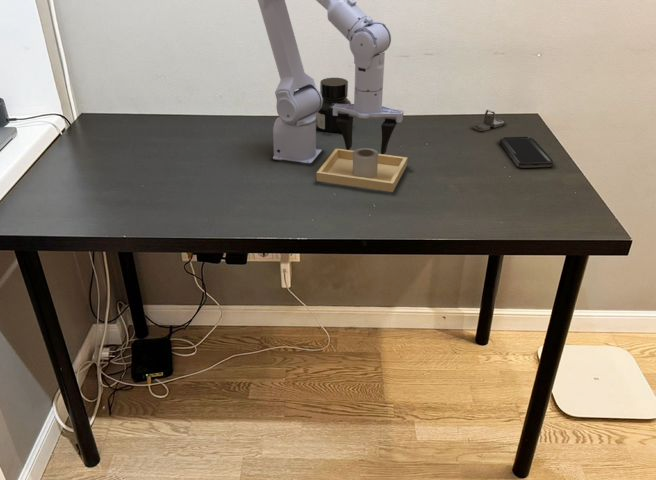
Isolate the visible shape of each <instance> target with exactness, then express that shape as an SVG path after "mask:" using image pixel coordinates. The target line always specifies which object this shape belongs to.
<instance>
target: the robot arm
mask: <svg viewBox="0 0 656 480" xmlns="http://www.w3.org/2000/svg"><path fill="white" fill-rule="evenodd" d="M315 1H316V2H317V3H318V4H319V5H321V6H322V7H323V8H324V9H325V10H326V11H327V16H326V17H327V20H328V21H329V22H330V23H331V24H332V25H333V27H334V28H336V30H337V31H338V32H339V33H340V34H342V36H343V37H344V38H345V39H346V40H347V41H348V42H349V43H348V45H349V50H350V51H351V54H352V55H353V64H354V88H353V89H354V91H353V92H354V94H353V95H354V96H353V103H351V104H335V105H334V106H333V116H338V118H337V120H336V123H337V125H338V127H339V128H340V130H341V133H340V134H341V135H342V138H343V141H344V145H345V150H351V148H352V147H353V123H354V118H355V117H356V118H359V119H373V120H383V122H382V123H381V126H380V127H381V128H380V129H381V145H380V154H384V155H386V152H387V150H388V149H387V148H388V145H389V142H390V140H391V139H390V138H391V136H392V134H393V132H394V130H395V127H396V125H397V124H398V123H400V124H401V123H402V122H403V120H404V110H400V109H396V108H391V107H387V106H384V105H383V93H384V77H385V76H384V75H385V58H386V57H385V55H386V53H385V52H386V51H387V50H388V49H389V48H390V45H391V44H392V43H391V42H392V35H391V31H390V29H389V28H388V27H387V25H386V24H385V23H384V22H381V21H375V20H374V19H373V18H372V17H371V16H368V15H367V14H366V13H365V12H364V11H363V10H362V9H361V8H360V7H359V6H358V5H357V0H315ZM257 2H258V6H259V9H260V13H261V16H262V20H263V23H264V27H265V30H266V35H267V37H268V41H269V45H270V47H271V48H270V49H271V51H272V56H273V58H274V61H275V65H276V69H277V72H278V76H279V79H280V81H279V83H278V84H277V88H276V89H275V92H274V94H275V98H276V105H275V106H276V112H277V116H278V117H277V118H276V119H275V121H274V124H273V127H272V137H273V138H272V140H273V141H272V144H273V156H272V160H274V161H282V160H284V161H290V162H291V161H292V162H300V163H304V164H305V163H306V164H312V163H313V162H314V160H315V159H316V158H317V157H318V156H319V154H321V152H322V149H320V148H317V128H316V117H317V112H318V111H319V110H320V109H321V107H322V103H323V100H322V95H321V93H320V89H318V87H317V85H316V83H315V79H314V78H313V77H312V76H310V75H308V73H306V72H305V69H304V64H303V62H302V58H301V54H300V51H299V46H298V44H297V43H298V42H297V40H296V36H295V32H294V29H293V24H292V22H291V18H290V14H289V10H288V6H287V3H286V0H257Z"/></svg>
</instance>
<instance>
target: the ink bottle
mask: <svg viewBox="0 0 656 480" xmlns="http://www.w3.org/2000/svg"><path fill="white" fill-rule="evenodd" d="M319 87H320V88H319V91H320V93H321V95H322V100H323V103H322V107H321V109H320V110H319V111H318V112H317V117H316V130H317V131H319V132H320V133H327V134H335V135H337V134H342V133H341V130H340V128H339V127H338V125H337V123H336V120H337V118H338V116H333V106H334V105H335V104H352V102H351V101H350V100H349V99H348V96H349V95H348V93H349V92H348V91H349V80H347V79H346V78H342V77H326V78H323V79H321V80H320V82H319Z"/></svg>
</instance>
